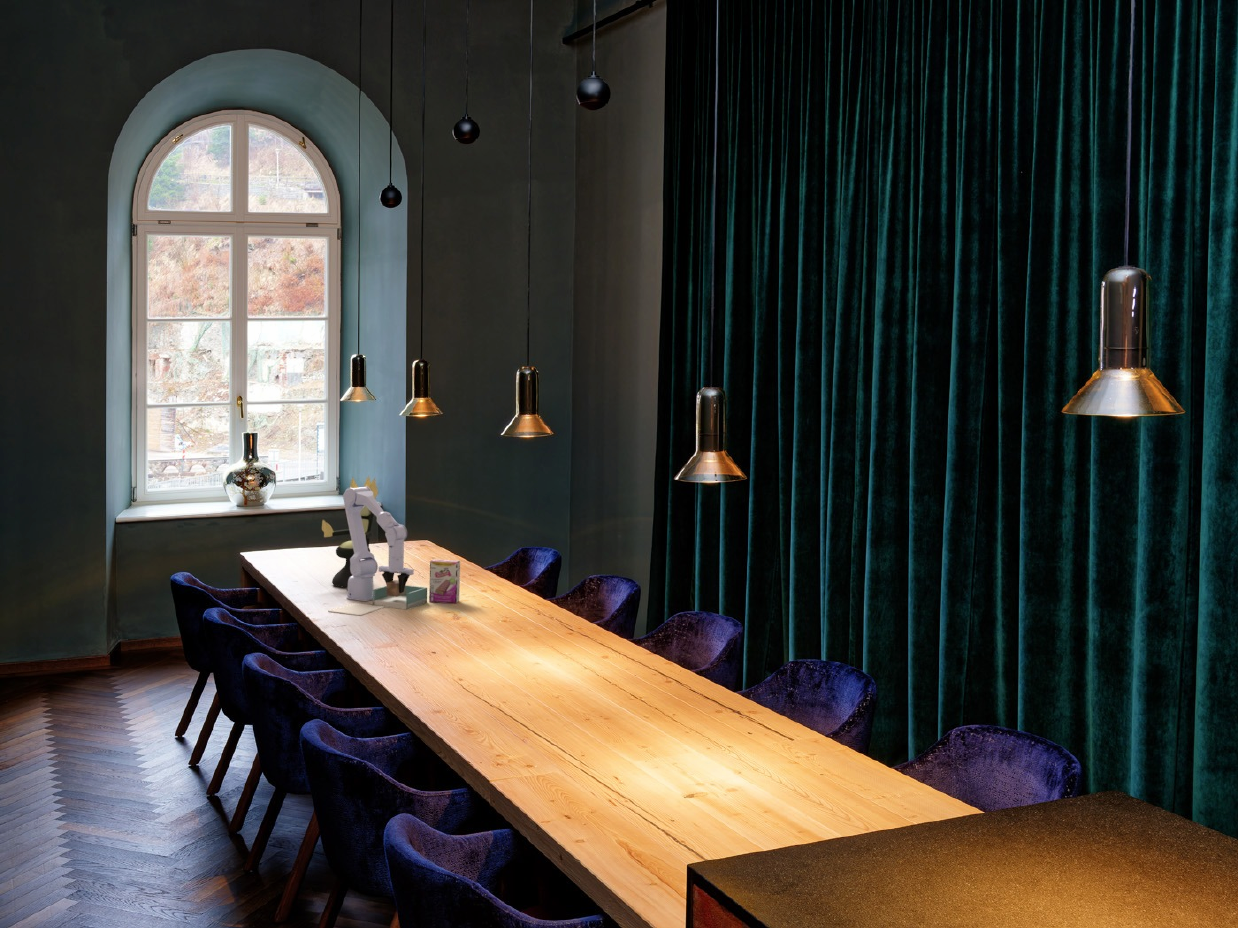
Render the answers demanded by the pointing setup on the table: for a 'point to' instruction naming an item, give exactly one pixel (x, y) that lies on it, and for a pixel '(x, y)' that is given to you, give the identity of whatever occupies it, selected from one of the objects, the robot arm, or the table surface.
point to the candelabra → (347, 548)
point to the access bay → (401, 597)
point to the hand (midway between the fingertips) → (395, 591)
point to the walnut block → (393, 588)
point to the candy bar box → (444, 581)
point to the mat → (356, 609)
